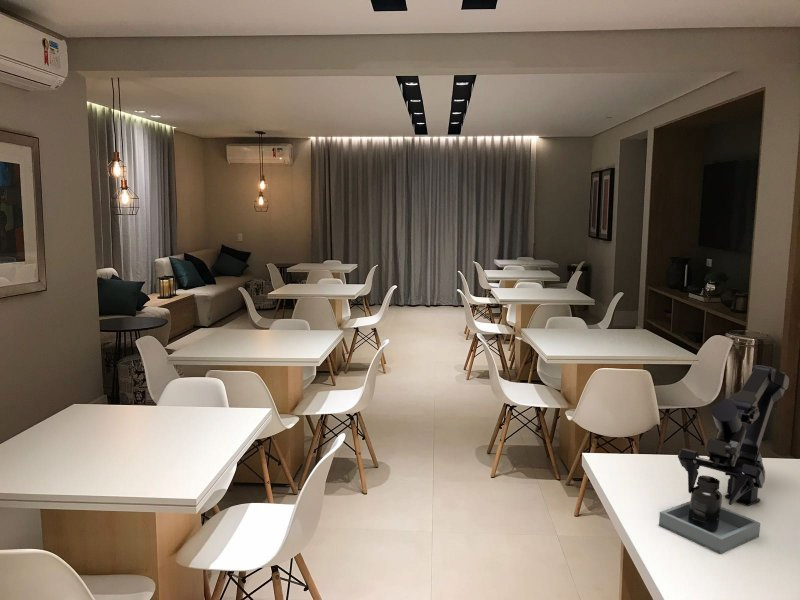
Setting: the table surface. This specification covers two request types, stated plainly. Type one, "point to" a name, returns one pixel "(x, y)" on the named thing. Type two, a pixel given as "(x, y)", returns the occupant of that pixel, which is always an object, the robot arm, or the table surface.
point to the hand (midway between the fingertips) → (709, 498)
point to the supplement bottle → (705, 504)
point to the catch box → (725, 538)
